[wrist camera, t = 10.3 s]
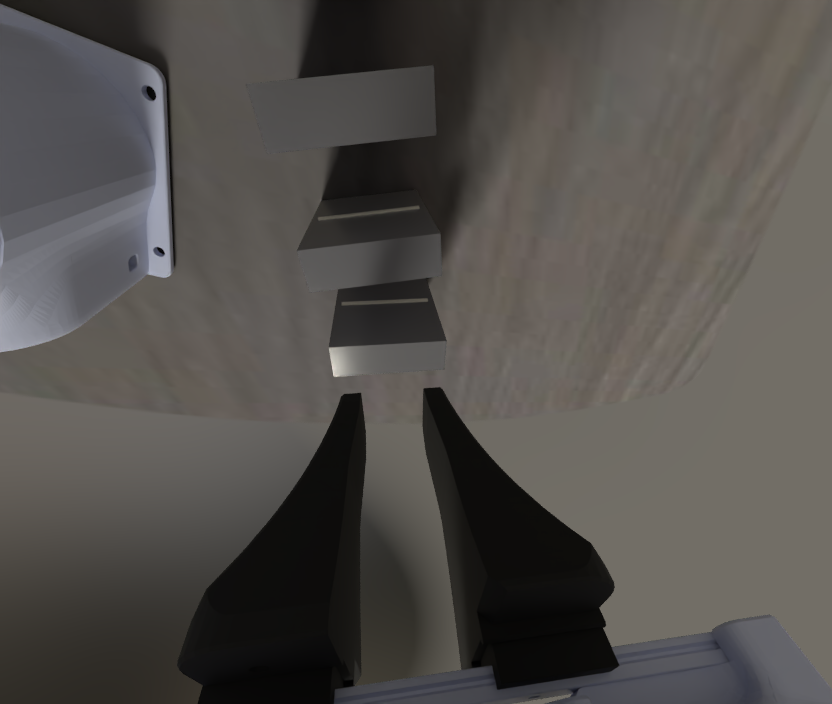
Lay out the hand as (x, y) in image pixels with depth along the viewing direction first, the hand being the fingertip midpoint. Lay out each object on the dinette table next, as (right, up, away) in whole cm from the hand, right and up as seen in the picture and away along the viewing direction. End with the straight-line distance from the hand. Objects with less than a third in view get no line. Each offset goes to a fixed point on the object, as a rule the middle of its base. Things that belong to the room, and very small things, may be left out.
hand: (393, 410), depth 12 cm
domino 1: (-2, +13, +3) cm, 14 cm away
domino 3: (-1, +6, +8) cm, 10 cm away
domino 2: (-2, +10, +6) cm, 11 cm away
